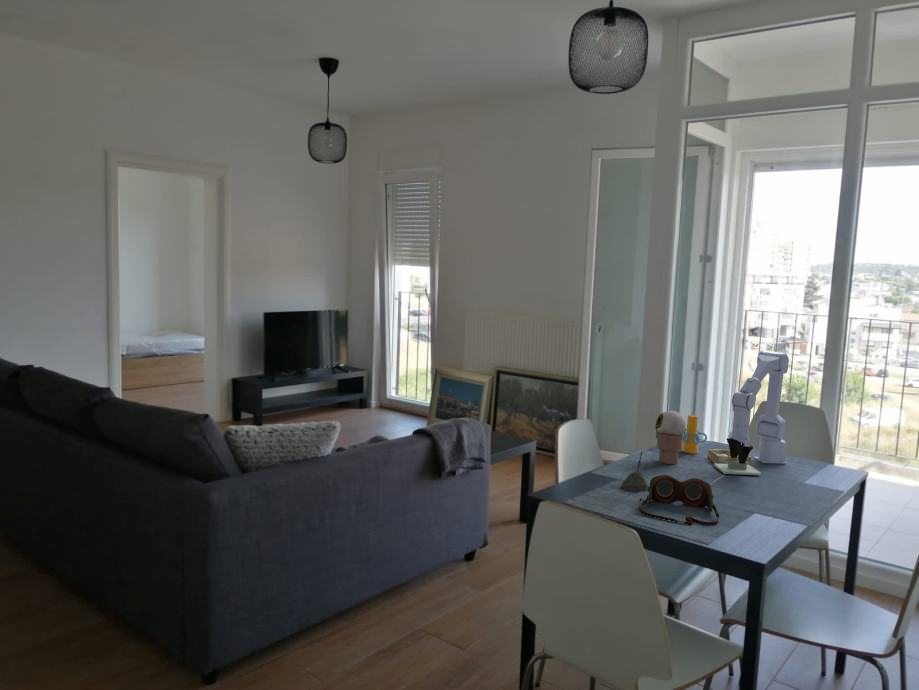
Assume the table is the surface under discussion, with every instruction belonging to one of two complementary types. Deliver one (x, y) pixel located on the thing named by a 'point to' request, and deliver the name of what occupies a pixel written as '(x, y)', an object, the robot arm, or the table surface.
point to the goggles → (680, 496)
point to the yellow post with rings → (692, 435)
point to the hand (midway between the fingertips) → (737, 460)
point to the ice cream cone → (669, 435)
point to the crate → (723, 456)
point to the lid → (737, 468)
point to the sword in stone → (635, 481)
